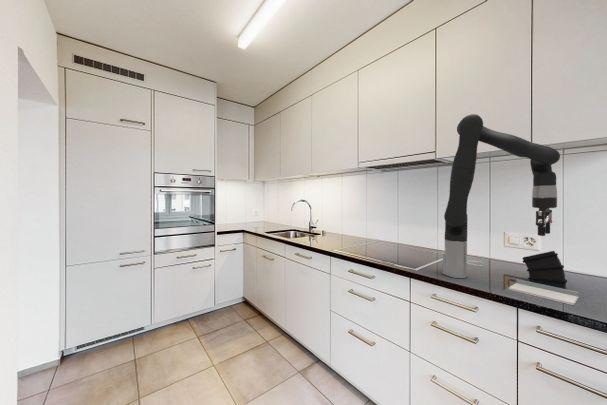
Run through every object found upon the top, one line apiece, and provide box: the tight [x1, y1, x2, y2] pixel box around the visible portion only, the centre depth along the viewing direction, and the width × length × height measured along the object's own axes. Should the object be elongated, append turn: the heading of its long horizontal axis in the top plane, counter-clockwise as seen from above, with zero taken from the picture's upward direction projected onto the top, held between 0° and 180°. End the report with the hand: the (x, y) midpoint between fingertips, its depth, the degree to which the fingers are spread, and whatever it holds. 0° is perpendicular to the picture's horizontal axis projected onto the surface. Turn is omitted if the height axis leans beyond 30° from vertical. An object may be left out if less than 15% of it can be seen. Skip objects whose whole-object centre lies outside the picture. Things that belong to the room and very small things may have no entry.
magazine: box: [521, 250, 568, 289], centre depth 105 cm, size 4×13×15 cm, turn 36°
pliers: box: [467, 260, 486, 267], centre depth 141 cm, size 10×2×15 cm
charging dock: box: [508, 278, 580, 306], centre depth 96 cm, size 18×10×2 cm, turn 35°
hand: (544, 234), depth 105 cm, fingers open, 8 cm apart
